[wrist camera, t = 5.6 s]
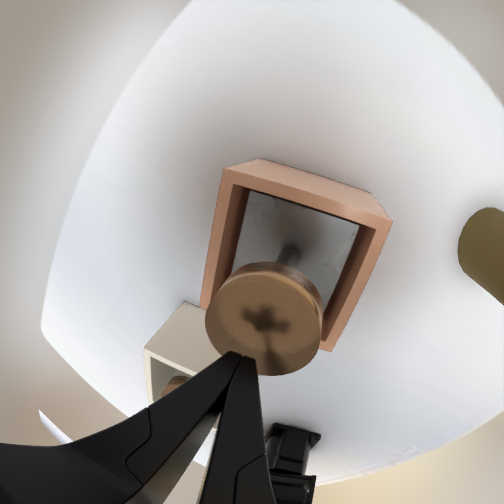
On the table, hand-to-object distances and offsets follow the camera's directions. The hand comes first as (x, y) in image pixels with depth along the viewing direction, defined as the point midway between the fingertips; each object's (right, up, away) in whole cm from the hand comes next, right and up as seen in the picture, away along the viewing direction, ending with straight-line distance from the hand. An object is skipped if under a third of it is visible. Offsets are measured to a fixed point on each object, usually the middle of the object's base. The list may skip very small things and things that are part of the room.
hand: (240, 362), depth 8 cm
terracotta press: (+4, +5, +12) cm, 13 cm away
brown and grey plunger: (+3, +4, +8) cm, 9 cm away
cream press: (-3, -6, +18) cm, 19 cm away
